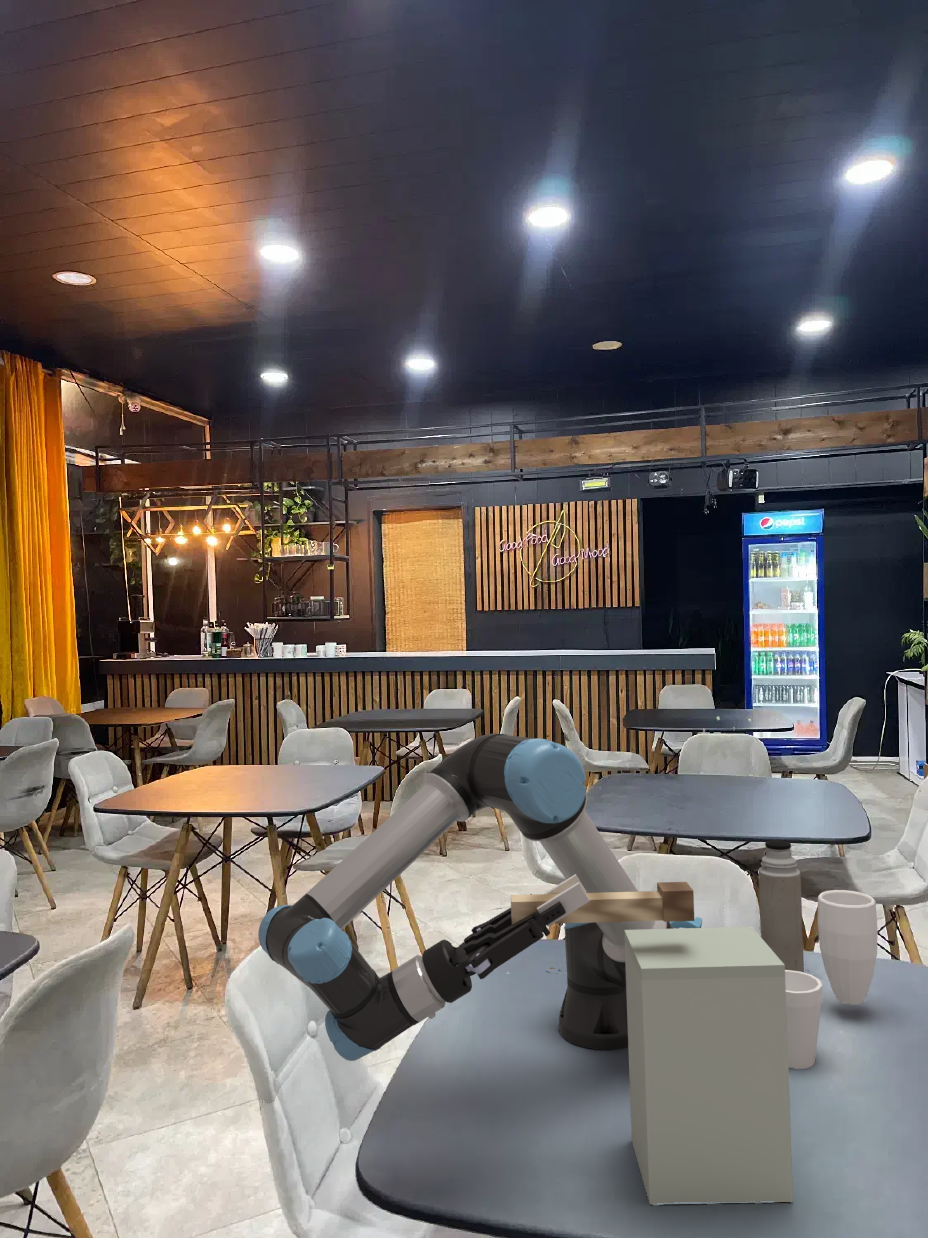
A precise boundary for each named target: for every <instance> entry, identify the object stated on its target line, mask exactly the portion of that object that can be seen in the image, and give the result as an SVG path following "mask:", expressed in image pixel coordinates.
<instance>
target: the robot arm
mask: <svg viewBox="0 0 928 1238" xmlns="http://www.w3.org/2000/svg"><path fill="white" fill-rule="evenodd" d="M585 781H587V776H586V773H585V769H584V766H583V764H582V762H581V760H580V759H579V758H578V756H577V755H576V754H575V753H574V751H572V750H571V749H570V748H568V747H567V746H565V745H563V744H560V743H559V742H558V743H557V742H554V741H551V740H549V739H545V738H539V737H538V738H533V737H526V736H525V737H524V736H516V735H510V734H509V735H508V734H504V733H498V732H497V733H496V732H495V733H487V734H485V735H480V736H477V737H476V738H473V739H472V740H470V741H468V742H466V743H465V744H463V745H462V746H460V747H458V748H457V749H456V750H454V751H453V752H452V753H450V754H449V755H448V756H446V757H445V758H444V759H442V761H441V762H439V763H438V764H437V765H436V766H435V767H434V768H433V769H431V770H430V771H429V772H428V773H427V774H426V775H425V777H424V784H423V786H422V787H421V788H420V789H419V790H418V791H416V792H415V794H413V795H412V796H411V797H410V798H409V799H408V800H407V801H406V802H405V803H403V805H401V806H400V807H399V808H398V809H396V810H395V812H394V813H392V815H390V816H389V817H388V818H387V819H386V820H385V821H384V822H383V823H382V824H380V825H379V826H378V827H377V828H376V829H375V830H374V831H373V832H372V833H371V834H370V835H368V837H366V838H365V839H364V840H363V841H362V842H361V843H360V844H359V845H357V846H356V847H355V848H354V849H353V850H352V851H351V852H350V853H348V855H346V857H344V858H343V859H342V860H341V861H340V862H339V863H338V864H337V865H336V866H334V867H333V868H332V869H331V870H330V871H329V872H328V873H326V875H324V877H323V878H322V879H320V880H319V881H318V882H317V883H316V884H315V885H314V886H313V887H312V888H310V889H309V890H308V891H307V892H306V893H305V894H304V895H302V896H301V897H300V898H299V899H298V900H297V901H296V902H295V903H294V904H281V905H278V906H276V907H273V908H271V909H270V910H268V911H267V912H266V914H265V915H264V916H263V918H262V920H261V921H260V924H259V927H258V933H257V934H258V935H257V936H258V937H257V938H258V941H259V945H260V947H261V949H262V950H263V951H264V952H265V953H266V954H267V955H268V957H269V959H271V961H273V962H275V964H277V965H280V966H281V967H282V968H284V969H285V970H286V971H288V972H289V974H292V975H293V976H294V977H295V978H297V979H298V980H299V981H300V982H301V983H303V984H304V985H305V986H306V987H308V988H309V989H310V990H311V991H312V992H313V993H314V994H315V995H316V996H317V997H318V999H319V1000H320V1001H321V1002H322V1003H323V1004H324V1005H325V1006H326V1008H327V1009H328V1010H327V1012H326V1014H325V1017H324V1026H325V1031H326V1034H327V1036H328V1039H329V1041H330V1042H331V1043H332V1044H333V1047H334V1050H335V1051H336V1053H337V1054H338V1055H339V1056H340V1057H341V1058H343V1059H344V1060H346V1061H349V1062H354V1061H355V1062H356V1061H357V1060H360V1059H361V1058H363V1057H365V1056H367V1055H369V1054H371V1053H373V1052H376V1051H378V1050H380V1049H381V1048H382V1047H383V1046H384V1045H386V1044H387V1043H389V1042H392V1040H394V1039H395V1038H397V1037H398V1036H400V1035H401V1034H403V1033H404V1032H406V1031H407V1030H408V1029H410V1028H412V1027H413V1026H416V1025H417V1024H419V1023H421V1022H423V1021H424V1020H426V1019H427V1018H429V1019H430V1020H431V1019H434V1018H435V1017H436V1013H437V1012H438V1011H441V1009H443V1008H445V1006H446V1003H450V1004H452V1003H454V1002H455V1001H457V1000H459V999H461V998H462V997H464V996H465V995H466V994H468V993H470V992H471V991H472V989H473V984H472V983H473V982H472V976H474V975H477V976H478V978H479V979H480V980H483V979H486V978H487V977H488V976H489V975H490V974H491V973H492V972H493V971H495V970H496V969H498V968H499V967H501V966H502V965H503V964H505V963H507V962H508V961H509V960H511V959H512V958H514V957H515V956H517V955H518V954H520V953H522V952H523V951H525V950H526V949H528V948H529V947H530V946H532V945H533V944H535V943H537V942H538V941H541V939H543V938H544V936H545V937H548V936H549V935H550V934H551V931H550V930H549V929H548V928H549V927H550V926H553V925H554V923H555V922H557V921H559V920H560V919H562V918H563V917H565V916H567V915H568V914H570V913H572V912H573V911H575V910H576V909H578V908H580V907H581V906H583V905H584V904H586V903H588V902H589V901H590V900H589V898H588V897H587V895H586V893H605V892H639V891H638V889H637V888H636V886H635V884H634V883H633V882H632V880H631V878H630V877H629V875H628V874H627V872H626V871H625V869H624V868H623V867H622V864H621V863H620V862H619V860H618V859H617V857H616V855H615V854H614V853H613V851H612V850H611V848H610V847H609V845H608V843H607V842H606V840H605V839H604V838H603V836H602V834H601V833H600V831H599V830H598V829H597V827H596V825H595V824H594V823H593V821H592V819H591V818H590V816H589V815H588V813H587V811H586V807H587V803H588V798H587V786H585ZM488 807H489V808H492V809H496V810H501V811H502V812H503V811H504V812H505V813H506V814H508V816H509V817H510V819H511V820H512V821H513V823H514V825H515V826H516V827H517V828H518V830H519V831H520V832H521V834H522V836H523V837H524V838H526V840H528V841H532V842H539V843H540V845H541V846H542V847H543V849H544V850H545V852H546V853H547V855H548V856H549V857H550V859H551V860H552V862H553V863H554V864H555V866H556V867H557V869H558V870H559V872H560V873H561V874H562V876H563V877H564V879H565V880H563V881H561V882H560V883H559V884H557V885H555V886H554V887H552V888H550V889H549V890H547V891H546V892H544V893H543V894H558V895H557V896H555V897H553V898H552V899H550V900H549V901H547V902H545V903H544V904H542V905H540V906H539V907H537V910H538V912H539V913H540V914H538V912H534V913H532V914H531V915H529V916H527V917H525V918H523V919H522V920H520V921H518V922H516V923H514V924H513V925H512V919H511V907H509V908H507V909H506V910H504V911H502V912H500V913H499V914H497V915H495V916H494V917H492V918H490V919H489V920H487V921H485V922H482V923H481V924H478V925H476V926H473V927H472V929H471V932H472V933H471V934H469V935H468V936H466V937H465V938H464V939H463V942H462V943H460V944H459V945H458V946H454V945H453V944H452V943H451V942H450V941H448V940H447V939H442V940H441V939H440V941H438V942H436V943H435V944H433V945H432V946H430V947H428V948H426V949H425V950H424V951H423V952H422V955H419V954H416V955H415V956H414V957H412V958H410V959H408V960H407V961H405V962H404V963H402V964H400V965H399V966H398V967H396V968H394V969H393V970H391V971H390V972H388V973H386V974H385V975H382V976H381V977H380V976H378V974H377V972H376V971H375V970H374V969H373V967H372V966H371V965H370V964H369V963H368V961H367V960H366V959H365V958H364V956H363V955H362V954H361V952H360V951H359V949H357V947H356V946H355V945H354V943H353V942H352V940H351V939H349V938H350V937H349V935H348V933H347V932H346V931H344V929H345V928H346V926H348V925H349V924H350V923H351V922H352V921H353V920H354V919H356V918H357V917H358V915H359V914H360V913H362V912H363V911H364V910H365V908H367V907H368V906H369V905H370V904H371V903H372V902H373V901H374V900H375V899H376V898H377V897H378V896H380V894H381V893H383V891H385V890H386V889H387V888H388V887H389V886H390V885H391V884H392V883H394V881H395V880H396V879H398V877H399V876H400V875H401V874H402V873H404V871H406V870H407V868H409V867H410V866H411V865H412V864H413V863H414V862H415V861H417V859H418V858H419V857H420V856H421V855H422V854H423V853H425V851H427V850H428V849H429V848H430V847H431V846H432V845H433V844H434V843H435V842H436V841H437V840H438V839H439V838H440V837H441V836H443V835H444V833H446V832H447V830H449V829H450V827H452V826H453V825H454V824H455V823H456V822H465V821H467V820H469V818H471V817H472V815H474V814H475V813H476V812H478V811H480V810H483V809H485V808H488ZM529 895H533V894H532V893H529ZM555 924H556V923H555ZM563 929H564V940H565V941H564V942H565V959H566V961H565V962H566V972H567V976H566V982H567V983H566V984H567V987H566V990H565V993H564V997H563V1000H562V1004H561V1007H560V1008H561V1009H560V1011H559V1014H558V1030H559V1033H560V1035H561V1036H562V1038H563V1039H565V1040H566V1041H568V1042H569V1043H572V1044H573V1045H576V1046H579V1047H583V1048H587V1049H593V1050H616V1049H622V1048H627V1047H628V1021H627V993H626V965H625V937H624V930H643V929H675V928H673V927H672V925H671V924H670V922H664V921H627V922H591V923H564V927H563Z"/></svg>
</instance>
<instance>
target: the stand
mask: <svg viewBox="0 0 928 1238" xmlns="http://www.w3.org/2000/svg"><path fill="white" fill-rule="evenodd" d="M624 937H625V965H626V993H627V1021H628V1046H627V1047H628V1049H627V1050H628V1070H629V1071H628V1072H629V1074H628V1075H629V1100H630V1101H629V1102H630V1105H629V1106H630V1126H631V1127H630V1128H631V1143H632V1146H633V1147H632V1148H633V1151H634V1153H635V1157H636V1161H637V1165H638V1167H639V1172H640V1174H641V1175H642V1176H641V1179H642V1178H643V1179H642V1183H643V1182H644V1183H643V1186H644V1185H645V1186H644V1189H645V1188H646V1190H645V1193H646V1192H647V1194H646V1196H648V1197H647V1200H648V1199H649V1201H648V1203H650V1204H653V1203H654V1204H657V1203H665V1202H666V1203H674V1202H679V1203H680V1202H709V1203H710V1202H713V1203H714V1202H717V1203H718V1202H720V1203H721V1202H747V1201H748V1202H750V1201H752V1202H753V1201H755V1202H760V1201H775V1202H791V1203H790V1204H793V1203H794V1191H793V1190H794V1188H793V1183H794V1182H793V1160H792V1159H793V1158H792V1156H793V1154H792V1133H791V1131H792V1128H791V1105H790V1077H789V1075H790V1073H789V1071H790V1069H789V1068H788V1042H787V1014H786V986H785V965H784V964H783V962H782V961H781V960H780V959H779V958H778V957H777V955H776V954H775V953H774V952H773V951H772V950H771V948H770V947H769V946H768V945H767V944H766V943H765V941H764V940H763V939H762V938H761V935H760V934H759V933H758V932H757V930H755V928H754V927H753V926H729V927H728V926H725V927H723V926H722V927H720V926H719V927H701V928H679V929H675V928H674V929H643V930H624ZM650 1204H649V1205H650Z"/></svg>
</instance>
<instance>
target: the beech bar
mask: <svg viewBox="0 0 928 1238" xmlns="http://www.w3.org/2000/svg"><path fill="white" fill-rule="evenodd" d="M694 894H695V893H694V889H693V888H692V887H691V886H690V884H689V883H688V882H687V881H666V882H665V881H663V882H657V883H656V890H650V891H647V890H646V891H638V892H605V893H586V895H587V897H588V898H589V900H590V901H589V902H588V903H586V904H584V905H583V906H581V907H580V908H578V909H576V910H575V911H573V912H572V913H570V914H568V915H567V916H565V917H563V918H562V919H560V920H559V921H557V922H555V923H554V924H565V923H591V922H627V921H664V922H674V921H694V919H695V902H694V901H695V897H694ZM557 895H558V894H544V893H539V894H538V893H537V894H535V893H534V894H532V895H530V894H510V908H511V919H512V925H513V924H514V923H516V922H518V921H520V920H522V919H523V918H525V917H527V916H529V915H531V914H532V913H534V912H538V910H537V907H539V906H540V905H542V904H544V903H545V902H547V901H549V900H550V899H552V898H553V897H555V896H557ZM538 914H540V913H539V912H538ZM554 924H553V925H554Z"/></svg>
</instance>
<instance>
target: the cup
mask: <svg viewBox="0 0 928 1238" xmlns="http://www.w3.org/2000/svg"><path fill="white" fill-rule="evenodd" d="M876 903H877V902H876V900H875V899H874V898H873V896H871V895H869V894H867V893H865V892H864V893H863V892H859V891H857V890H855V891H854V890H845V889H833V890H831V889H830V890H826V891H823V892H821V893H820V894H819V895H818V896H817V931H818V942H819V950H820V954H821V958H822V962H823V966H824V967H823V968H824V971H825V973H826V977H827V980H828V981H829V984H830V987H831V989H832V992H833V994H834V996H835V998H836V999H837V1000H838V1002H840V1003H842V1004H846V1005H852V1006H853V1005H862V1004H863V1003H864V1000H865V999H866V997H867V995H868V993H869V990H870V986H871V984H872V980H873V977H874V973H875V972H874V971H875V966H876V960H877V956H878V931H879V930H878V929H879V928H878V917H877V904H876Z"/></svg>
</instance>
